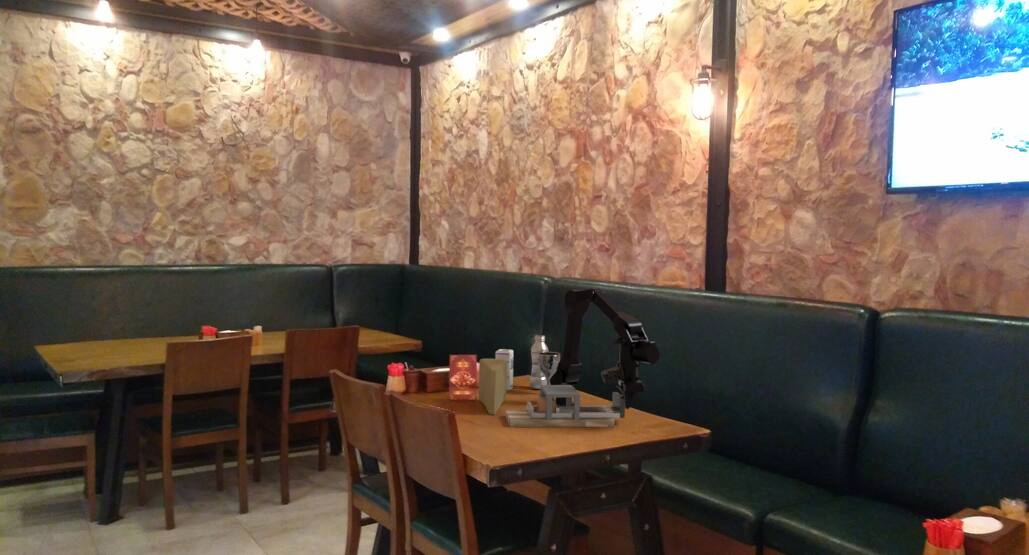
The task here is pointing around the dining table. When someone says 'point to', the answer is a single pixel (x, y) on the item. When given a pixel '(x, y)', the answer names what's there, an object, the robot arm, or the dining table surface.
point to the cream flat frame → (555, 420)
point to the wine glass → (548, 363)
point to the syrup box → (508, 356)
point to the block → (544, 404)
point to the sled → (616, 407)
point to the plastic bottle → (537, 374)
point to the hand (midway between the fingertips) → (627, 408)
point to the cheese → (492, 383)
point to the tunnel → (560, 391)
